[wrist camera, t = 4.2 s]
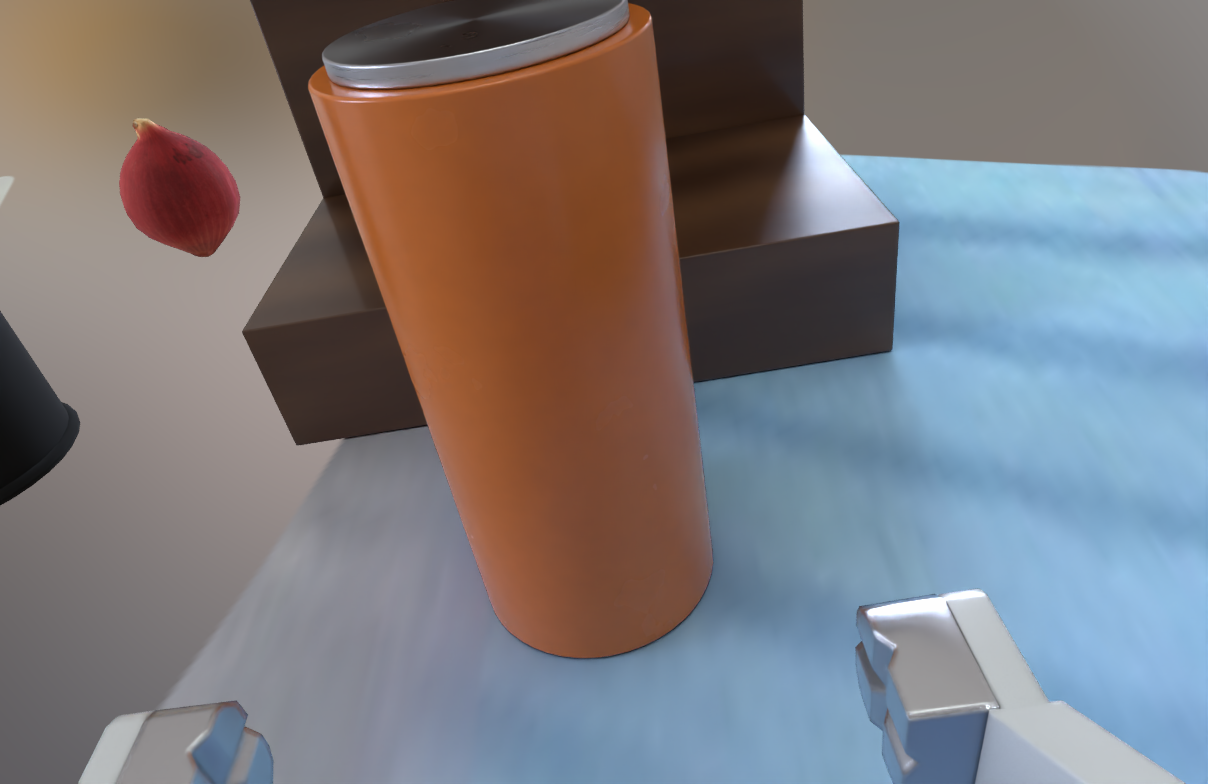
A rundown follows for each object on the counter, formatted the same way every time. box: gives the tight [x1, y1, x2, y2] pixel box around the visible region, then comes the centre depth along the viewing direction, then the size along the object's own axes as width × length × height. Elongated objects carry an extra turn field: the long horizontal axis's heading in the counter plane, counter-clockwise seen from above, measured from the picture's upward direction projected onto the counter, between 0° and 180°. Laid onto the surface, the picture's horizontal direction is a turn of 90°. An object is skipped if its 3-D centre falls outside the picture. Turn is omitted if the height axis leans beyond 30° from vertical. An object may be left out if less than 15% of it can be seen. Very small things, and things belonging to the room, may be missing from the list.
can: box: [308, 0, 713, 658], centre depth 19 cm, size 6×6×14 cm
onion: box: [119, 118, 240, 257], centre depth 45 cm, size 6×6×8 cm
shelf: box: [242, 0, 899, 445], centre depth 28 cm, size 13×22×24 cm, turn 93°
